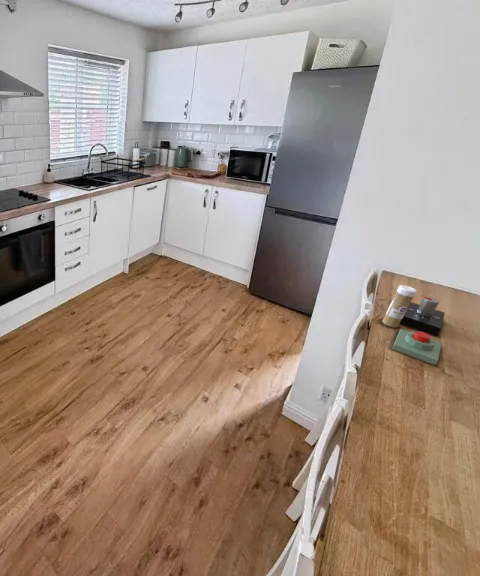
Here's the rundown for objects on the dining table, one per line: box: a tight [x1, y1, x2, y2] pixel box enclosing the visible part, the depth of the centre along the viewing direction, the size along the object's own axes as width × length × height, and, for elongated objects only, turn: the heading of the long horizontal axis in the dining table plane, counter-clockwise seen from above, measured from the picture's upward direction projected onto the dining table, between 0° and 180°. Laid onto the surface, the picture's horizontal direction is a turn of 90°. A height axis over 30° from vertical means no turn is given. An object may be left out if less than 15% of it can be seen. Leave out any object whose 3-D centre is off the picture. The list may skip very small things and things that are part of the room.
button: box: [413, 330, 432, 343], centre depth 107 cm, size 4×4×2 cm
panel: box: [399, 301, 446, 337], centre depth 122 cm, size 14×10×3 cm
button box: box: [392, 328, 442, 366], centre depth 108 cm, size 12×10×4 cm
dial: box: [416, 295, 440, 317], centre depth 120 cm, size 4×4×6 cm
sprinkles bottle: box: [381, 284, 418, 328], centre depth 117 cm, size 5×5×14 cm
